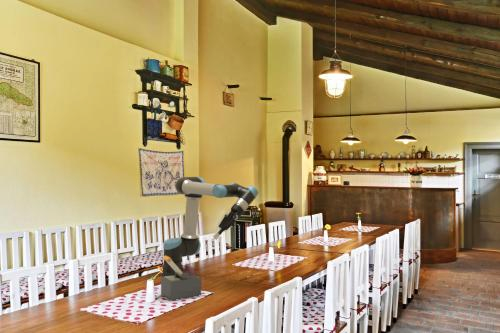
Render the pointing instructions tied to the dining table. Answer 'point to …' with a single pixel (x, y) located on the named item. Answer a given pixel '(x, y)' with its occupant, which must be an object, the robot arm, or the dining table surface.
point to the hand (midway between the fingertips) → (214, 237)
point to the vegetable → (189, 269)
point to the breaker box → (180, 286)
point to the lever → (173, 265)
